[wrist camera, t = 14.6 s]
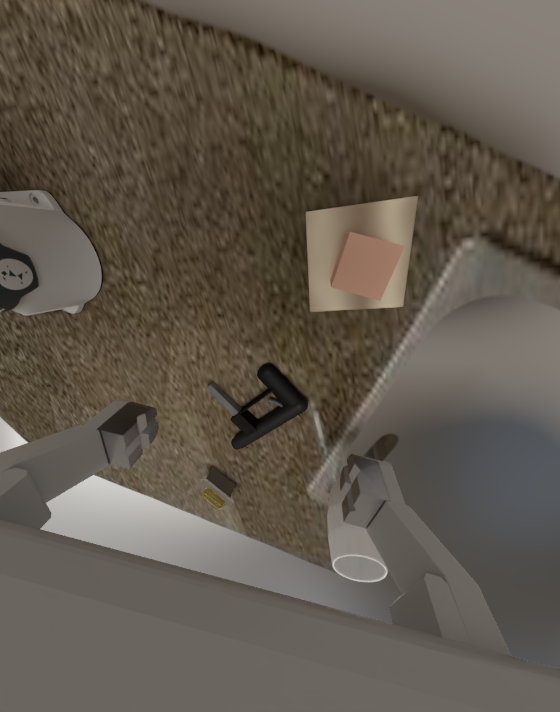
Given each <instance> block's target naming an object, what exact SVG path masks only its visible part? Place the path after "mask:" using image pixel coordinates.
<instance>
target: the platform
mask: <svg viewBox="0 0 560 712" xmlns="http://www.w3.org/2000/svg"><path fill="white" fill-rule="evenodd" d="M234 486H235V484H234V483H233V482H231V481H230V480H229V479H228V478H227V477H225V476H224V475H223V474H222V473H221V472H219V471H218V470H217V469H216V468H215V467H213V466H212V468H211V470H210V472H209V474H208V476H207V478H203V479H201V481H200V490H201V491H203V492H204V493H205V494H204V493H202V494H203V495H205V496H207V495H208V496H207V497H208V498H210V499H211V500H212V501H211V500H210V499H208V498H207V497H205V496H203V495H201V496H202V497H203V498H206V500H207V499H208V500H209V501H211V502H212V503H213V504H212V503H211V502H210V503H211V504H212V505H214V504H215V503H216V504H215V505H216V506H218V505H219V506H220V507H219V506H218V507H219V508H218V507H216V506H215V505H214V506H215V507H216V508H218V509H221V508H223V506H224V505H233V503H234V501H233V500H232V499H231V498H230V497H231V494H232V491H233V489H234ZM213 492H214V493H215V494H214V493H213ZM216 494H217V495H216ZM220 498H221V499H222V500H221V499H220ZM208 500H207V501H208ZM209 501H208V502H209ZM213 501H214V502H215V503H214V502H213ZM217 504H218V505H217Z"/></svg>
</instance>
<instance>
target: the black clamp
mask: <svg viewBox="0 0 560 712" xmlns="http://www.w3.org/2000/svg"><path fill="white" fill-rule="evenodd" d="M257 376H258V378H259V379H260V380H261V381H262V382H263V383H264V384H265V385H266V386H267V388H268V389H267V390H266V391H265V392H263V393H262V394H260V395H259V396H258V397H256V398H255V399H253V400H252V401H251V402H249V403H248V404H246V405H245V406H243V407H241V406H240V405H238V404H237V403H236V402H235V401H234V400H233V399H232V398H231V397H230V396H229V395H227V394H226V393H225V392H224V391H223V390H222V389H221V388H220V387H219V386H218V385H216V384H215V383H214V382H212V383H211V384H210V385H209V386H208V387H207V388H206V390H207V391H208V392H209V393H210V394H211V395H212V396H213V397H214V398H215V399H216V400H217V401H218V402H219V403H220V404H222V405H223V406H224V407H225V408H226V409H227V410H228V411H229V412H230V413H231V414H232V415H233V416H232V418H231V421H232V422H233V423H234V424H235V425H236V426H237V427H238V428H239V429H241V430H242V432H241V433H239V434H238V435H236V436H235V438H233V439H232V442H231V443H232V446H233V448H234V449H236V450H238V449H240V448H243V447H247V445H249V444H250V443H252V442H254V441H255V440H257V439H259V438H260V437H262V436H264V435H265V434H267V433H269V432H270V431H272V430H274V429H275V428H277V427H279V426H280V425H282V424H284V423H286V422H287V421H289V420H291V419H292V418H294V417H296V416H297V415H299V414H302V412H304V411H305V410H306V409H307V407H308V402H307V400H306V399H305V398H304V397H302V396H301V395H300V394H299V393H298V392H297V391H296V390H295V389H294V388H293V387H292V385H291V384H290V383H289V382H288V381H287V380H286V379H285V378H284V377H283V376H282V375H281V374H280V373H279V371H278V370H277V369H276V368H275V367H274V366H273V365H271V364H266V365H264V366H262V367H261V368H260V369H259V370H258V373H257ZM271 392H272V393H273V394H274V395H275V396H276V397H277V398H278V399H279V400H280V401H281V402H282V403H283V404H284V405H283V404H282V403H280V402H278V401H276V400H273V399H268V402H271V403H274V404H277V405H279V406H280V408H278V409H277V410H275V411H273V412H272V413H270V414H269V415H267V416H266V417H264V418H263V419H261V420H258V419H257V418H256V417H255V416H254V415H252V414H251V413H250V412H249V411H248V410H247V409H248V408H250V407H251V406H253V405H254V404H255V403H257V402H258V401H260V400H261V399H263V398H264V397H265V396H267V395H268V394H270V393H271ZM299 416H300V415H299ZM300 417H301V416H300ZM301 418H302V417H301ZM302 419H303V418H302ZM247 448H248V447H247Z"/></svg>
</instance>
